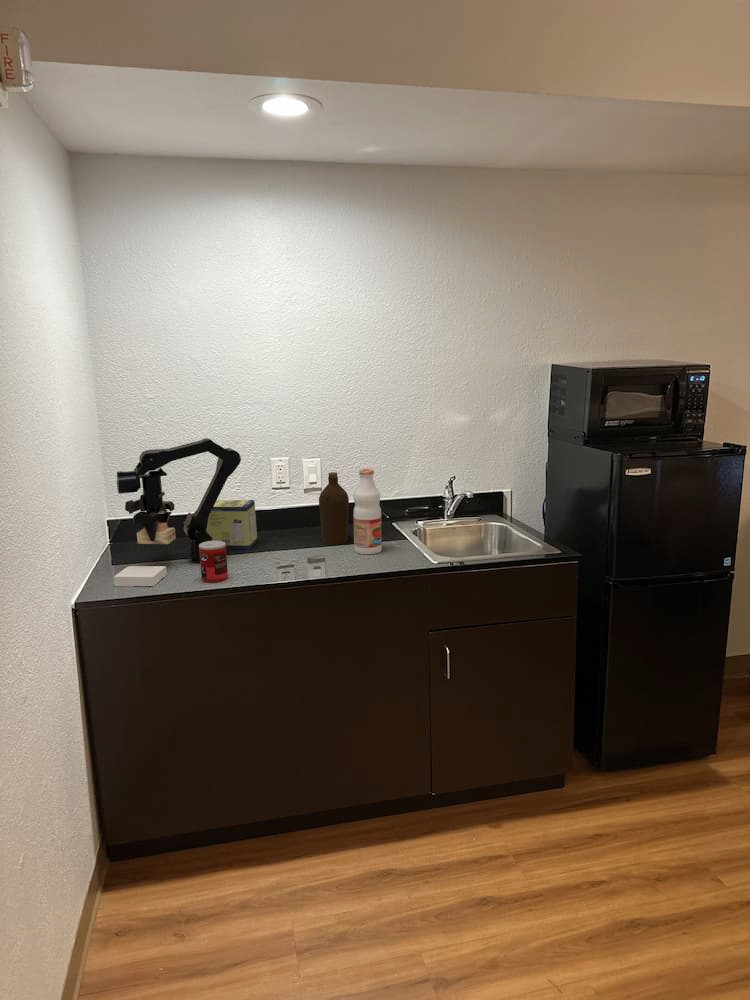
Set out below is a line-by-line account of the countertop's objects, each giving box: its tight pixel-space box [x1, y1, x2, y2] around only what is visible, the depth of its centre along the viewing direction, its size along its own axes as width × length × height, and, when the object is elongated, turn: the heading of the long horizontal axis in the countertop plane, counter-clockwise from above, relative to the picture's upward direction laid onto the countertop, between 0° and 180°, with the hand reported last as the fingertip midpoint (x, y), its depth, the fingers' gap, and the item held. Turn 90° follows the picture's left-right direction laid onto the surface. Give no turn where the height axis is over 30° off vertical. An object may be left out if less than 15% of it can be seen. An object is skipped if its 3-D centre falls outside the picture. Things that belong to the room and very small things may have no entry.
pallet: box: [136, 527, 177, 545], centre depth 218 cm, size 10×6×4 cm, turn 85°
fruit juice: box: [352, 468, 383, 555], centre depth 230 cm, size 9×9×28 cm
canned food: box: [199, 541, 229, 583], centre depth 207 cm, size 8×8×11 cm
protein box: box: [206, 499, 258, 551], centre depth 241 cm, size 10×16×16 cm
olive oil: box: [318, 471, 350, 546], centre depth 242 cm, size 11×11×25 cm
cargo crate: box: [143, 522, 169, 532], centre depth 218 cm, size 6×4×2 cm, turn 85°
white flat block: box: [113, 565, 168, 587], centre depth 207 cm, size 12×10×3 cm
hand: (156, 537), depth 219 cm, fingers closed on pallet, 6 cm apart
